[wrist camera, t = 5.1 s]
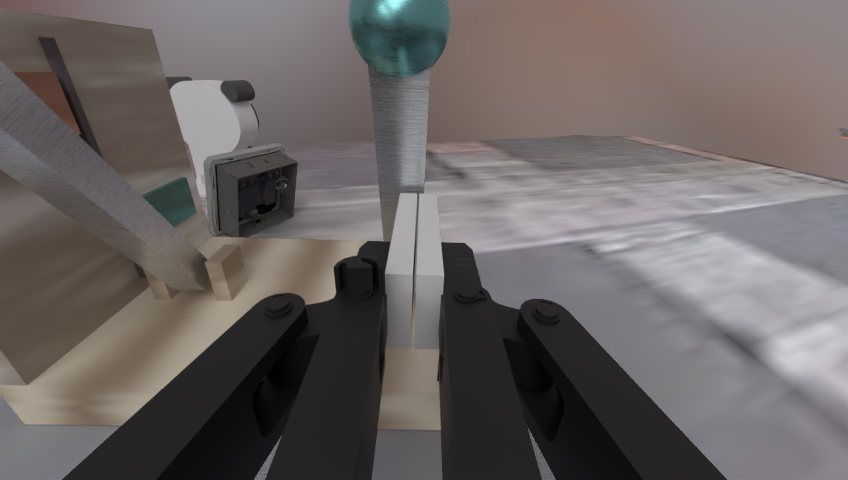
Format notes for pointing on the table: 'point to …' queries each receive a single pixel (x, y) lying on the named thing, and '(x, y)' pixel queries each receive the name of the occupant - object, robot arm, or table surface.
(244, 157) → the electrical switch
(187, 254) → the terracotta lever
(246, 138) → the panda figurine
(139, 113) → the switch unit
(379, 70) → the teal lever
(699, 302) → the table surface
